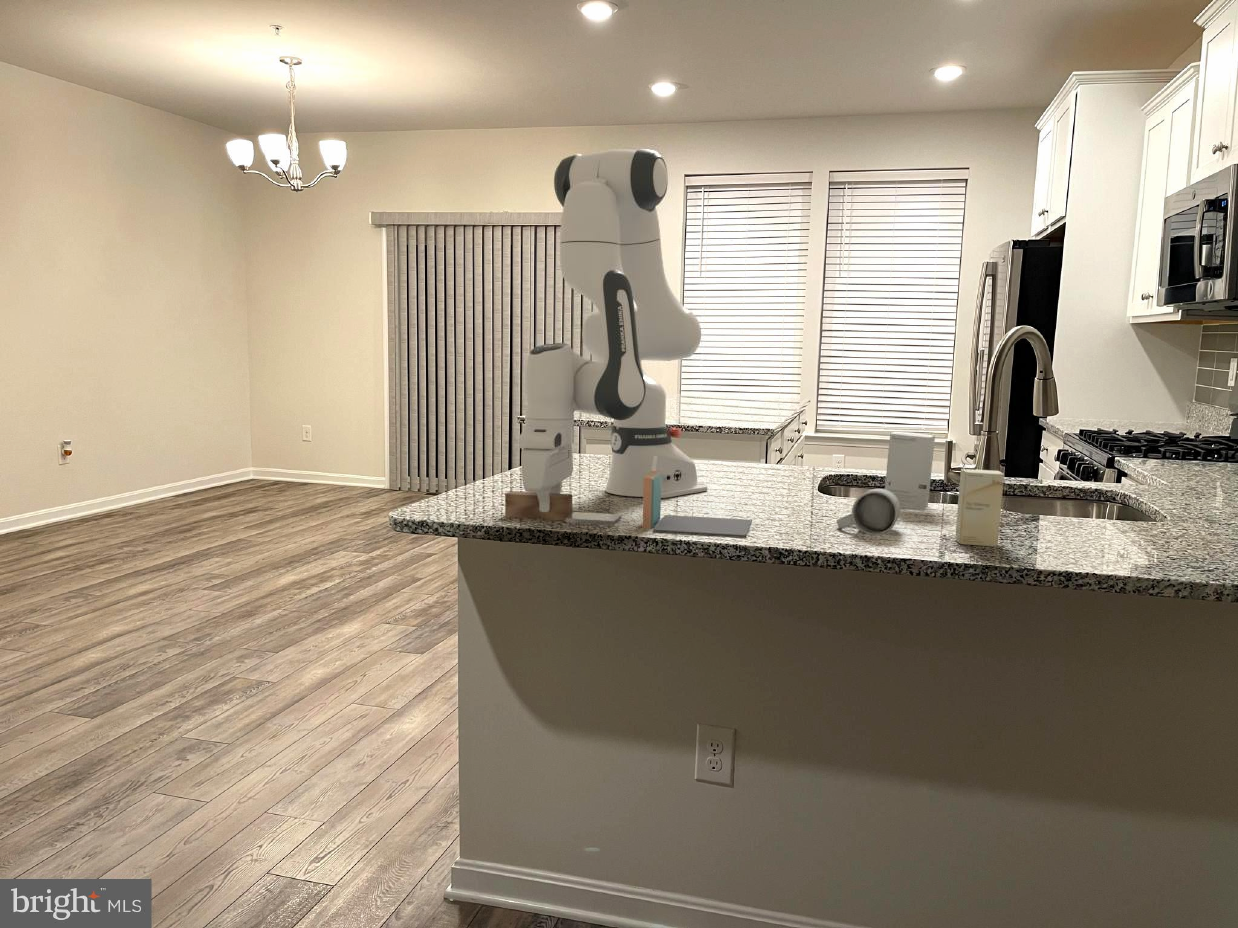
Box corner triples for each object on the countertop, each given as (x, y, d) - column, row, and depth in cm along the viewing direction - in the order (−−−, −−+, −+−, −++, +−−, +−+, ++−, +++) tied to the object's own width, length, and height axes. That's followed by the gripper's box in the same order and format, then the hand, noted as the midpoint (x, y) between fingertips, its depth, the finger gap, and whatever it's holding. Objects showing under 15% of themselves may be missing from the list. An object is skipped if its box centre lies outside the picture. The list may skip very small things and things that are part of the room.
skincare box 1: (882, 507, 180) (887, 433, 178) (887, 502, 185) (892, 430, 183) (926, 511, 176) (931, 436, 174) (930, 506, 182) (935, 433, 180)
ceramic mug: (900, 528, 161) (902, 485, 160) (896, 537, 154) (898, 493, 153) (840, 523, 165) (841, 482, 164) (833, 532, 158) (834, 489, 157)
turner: (502, 518, 165) (502, 495, 164) (513, 512, 171) (513, 489, 170) (614, 525, 160) (614, 501, 160) (621, 518, 166) (621, 495, 166)
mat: (652, 531, 155) (652, 529, 155) (665, 516, 168) (665, 514, 168) (746, 537, 152) (746, 535, 152) (751, 521, 165) (751, 519, 165)
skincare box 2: (959, 544, 149) (964, 472, 147) (954, 538, 153) (959, 468, 151) (999, 547, 148) (1005, 473, 146) (993, 541, 152) (999, 469, 150)
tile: (642, 528, 158) (643, 477, 157) (650, 519, 166) (651, 470, 165) (652, 528, 158) (653, 478, 157) (660, 519, 166) (661, 471, 164)
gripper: (549, 427, 175) (549, 497, 177) (515, 439, 155) (515, 518, 157) (581, 428, 173) (580, 499, 175) (550, 440, 153) (550, 520, 155)
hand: (549, 508), depth 166 cm, fingers open, 4 cm apart
